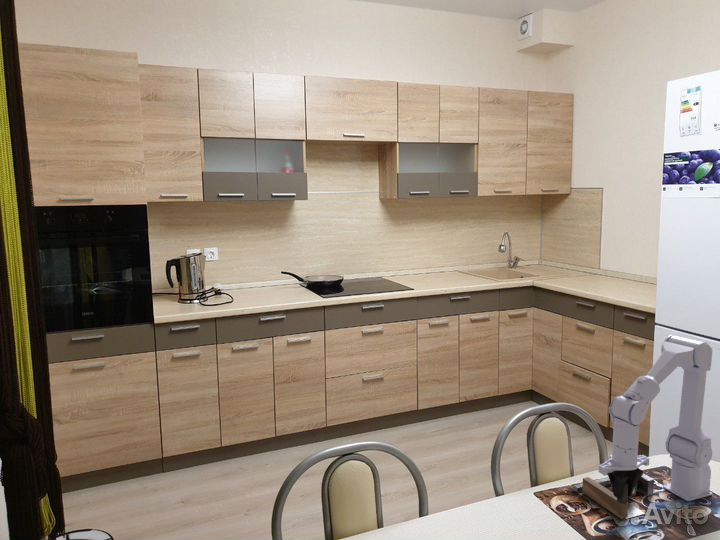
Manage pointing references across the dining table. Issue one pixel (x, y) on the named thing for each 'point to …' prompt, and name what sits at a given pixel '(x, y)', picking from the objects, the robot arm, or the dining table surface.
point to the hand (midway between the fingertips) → (622, 495)
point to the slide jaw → (606, 497)
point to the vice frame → (643, 486)
